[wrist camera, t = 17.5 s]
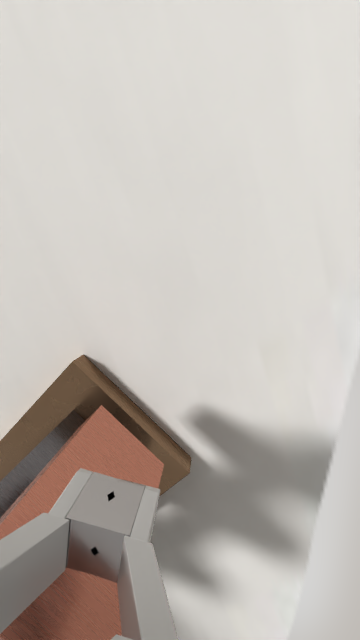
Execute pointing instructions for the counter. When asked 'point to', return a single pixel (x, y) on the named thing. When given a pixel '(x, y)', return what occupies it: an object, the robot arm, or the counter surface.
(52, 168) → the counter surface
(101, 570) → the robot arm
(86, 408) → the shaft rig
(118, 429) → the shaft
